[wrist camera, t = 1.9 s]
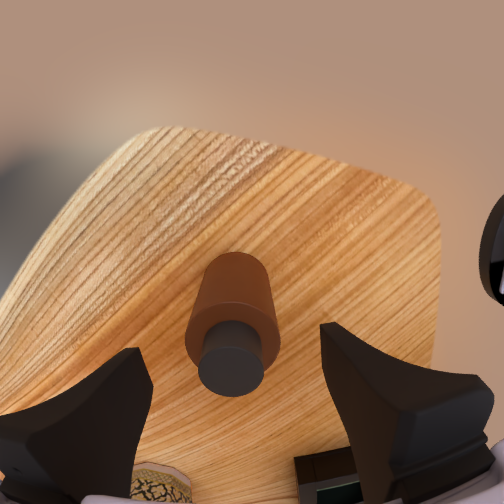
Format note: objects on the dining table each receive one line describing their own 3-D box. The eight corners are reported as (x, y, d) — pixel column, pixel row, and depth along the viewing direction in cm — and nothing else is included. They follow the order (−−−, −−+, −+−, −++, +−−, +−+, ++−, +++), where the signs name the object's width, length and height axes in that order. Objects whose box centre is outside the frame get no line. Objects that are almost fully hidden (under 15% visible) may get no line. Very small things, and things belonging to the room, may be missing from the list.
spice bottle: (269, 251, 19) (288, 325, 10) (268, 311, 20) (283, 410, 12) (201, 252, 19) (169, 326, 10) (205, 312, 20) (183, 410, 12)
